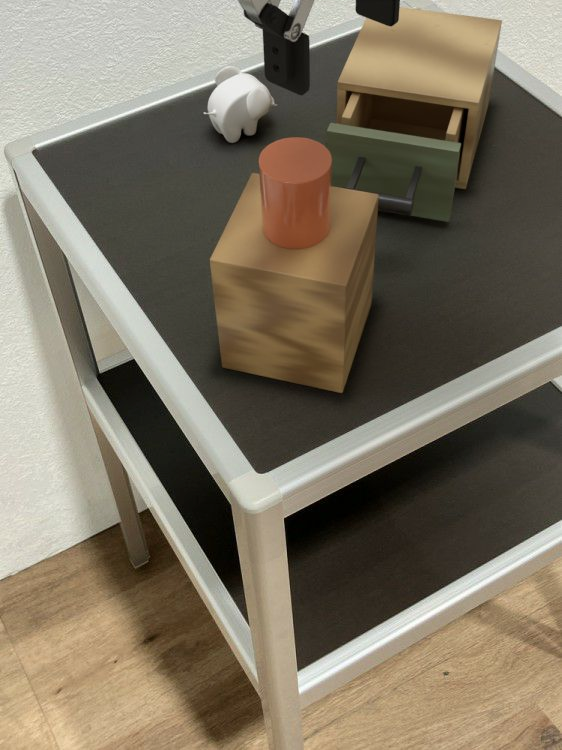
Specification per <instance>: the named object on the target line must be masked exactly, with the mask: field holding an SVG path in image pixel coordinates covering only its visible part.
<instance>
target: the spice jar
mask: <svg viewBox="0 0 562 750" xmlns="http://www.w3.org/2000/svg"><path fill="white" fill-rule="evenodd" d="M258 174H259V176H260V194H261V212H262V229H263V232H264V234H265V236H266V237H267V238H268V239H269V240H270V241H271V242H272V243H274V244H276V245H278V246H280V247H284V248H288V249H303V248H308V247H312V246H314V245H316V244H318V243H320V242H321V241H323V240H324V239H325V238H326V237H327V235H328V234H329V232H330V228H331V188H332V157H331V154H330V152H329V150H328V149H327V146H325V145H324V144H322V143H320V142H319V141H317V140H314V139H311V138H307V137H301V136H297V137H296V136H295V137H294V136H293V137H286V138H281V139H277V140H274V141H273V142H271V143H270V144H267V145H266V146H265V147H264V149H262V151H261V152H260V154H259V157H258Z"/></svg>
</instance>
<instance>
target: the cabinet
mask: <svg viewBox="0 0 562 750" xmlns="http://www.w3.org/2000/svg"><path fill="white" fill-rule="evenodd" d="M502 25H503V20H502V19H496V18H487V17H481V16H480V17H479V16H474V15H473V16H472V15H467V14H466V15H465V14H458V13H449V12H443V11H442V12H441V11H434V10H427V9H421V8H419V9H418V8H412V7H410V8H409V7H405V6H400V8H399V20H398V22H397V23H396V24H395V25H393V26H387V25H384V24H382V23H379V22H376V21H374V20H371V19H369V18H366V17H365V20H364V22H363V24H362V26H361V29H360V30H359V33H358V34H357V37H356V39H355V42H354V44H353V46H352V48H351V51H350V53H349V55H348V58H347V60H346V62H345V64H344V66H343V69H342V71H341V73H340V76H339V78H338V80H337V86H336V87H337V88H336V89H337V90H336V91H337V92H336V124H342V116H343V113H344V111H345V109H346V106H347V104H348V101H349V99H350V97H351V94H352V92H353V91H354V92H360V93H367V94H374V95H380V96H387V97H394V98H400V99H407V100H414V101H420V102H427V103H434V104H440V105H447V106H454V107H460V108H467V109H469V110H468V117H467V124H466V131H465V138H464V141H463V145H462V148H461V152H460V156H459V163H458V170H457V177H456V184H455V189H461V190H466V189H467V186H468V182H469V178H470V176H471V171H472V168H473V163H474V160H475V156H476V152H477V149H478V144H479V141H480V138H481V134H482V130H483V126H484V123H485V119H486V116H487V112H488V108H489V104H490V97H491V91H492V86H493V78H494V73H495V67H496V62H497V61H496V60H497V56H498V55H497V54H498V49H499V44H500V43H499V42H500V36H501V31H502Z"/></svg>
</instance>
